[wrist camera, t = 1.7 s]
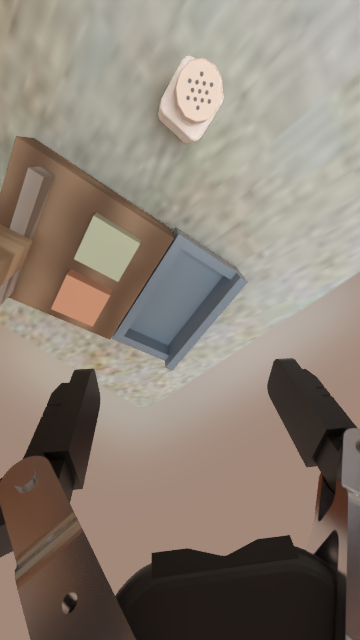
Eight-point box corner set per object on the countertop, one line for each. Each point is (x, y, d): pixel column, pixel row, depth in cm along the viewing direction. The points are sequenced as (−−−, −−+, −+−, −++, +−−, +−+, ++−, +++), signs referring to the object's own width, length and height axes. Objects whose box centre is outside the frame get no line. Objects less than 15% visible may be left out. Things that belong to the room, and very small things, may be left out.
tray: (114, 326, 37) (110, 345, 34) (176, 227, 30) (180, 237, 27) (170, 350, 41) (172, 370, 37) (236, 268, 34) (247, 282, 30)
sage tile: (77, 253, 27) (73, 259, 26) (96, 212, 25) (93, 215, 23) (119, 276, 29) (118, 282, 27) (140, 239, 27) (140, 243, 25)
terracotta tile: (55, 302, 30) (50, 309, 28) (70, 268, 28) (66, 274, 26) (94, 319, 32) (92, 326, 30) (112, 289, 30) (110, 295, 28)
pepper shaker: (155, 117, 24) (157, 99, 16) (179, 72, 23) (194, 28, 15) (187, 146, 26) (203, 143, 18) (212, 106, 24) (241, 83, 16)
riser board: (-6, 269, 31) (-24, 283, 28) (34, 138, 24) (16, 136, 21) (113, 322, 37) (110, 339, 34) (171, 229, 30) (174, 238, 27)
